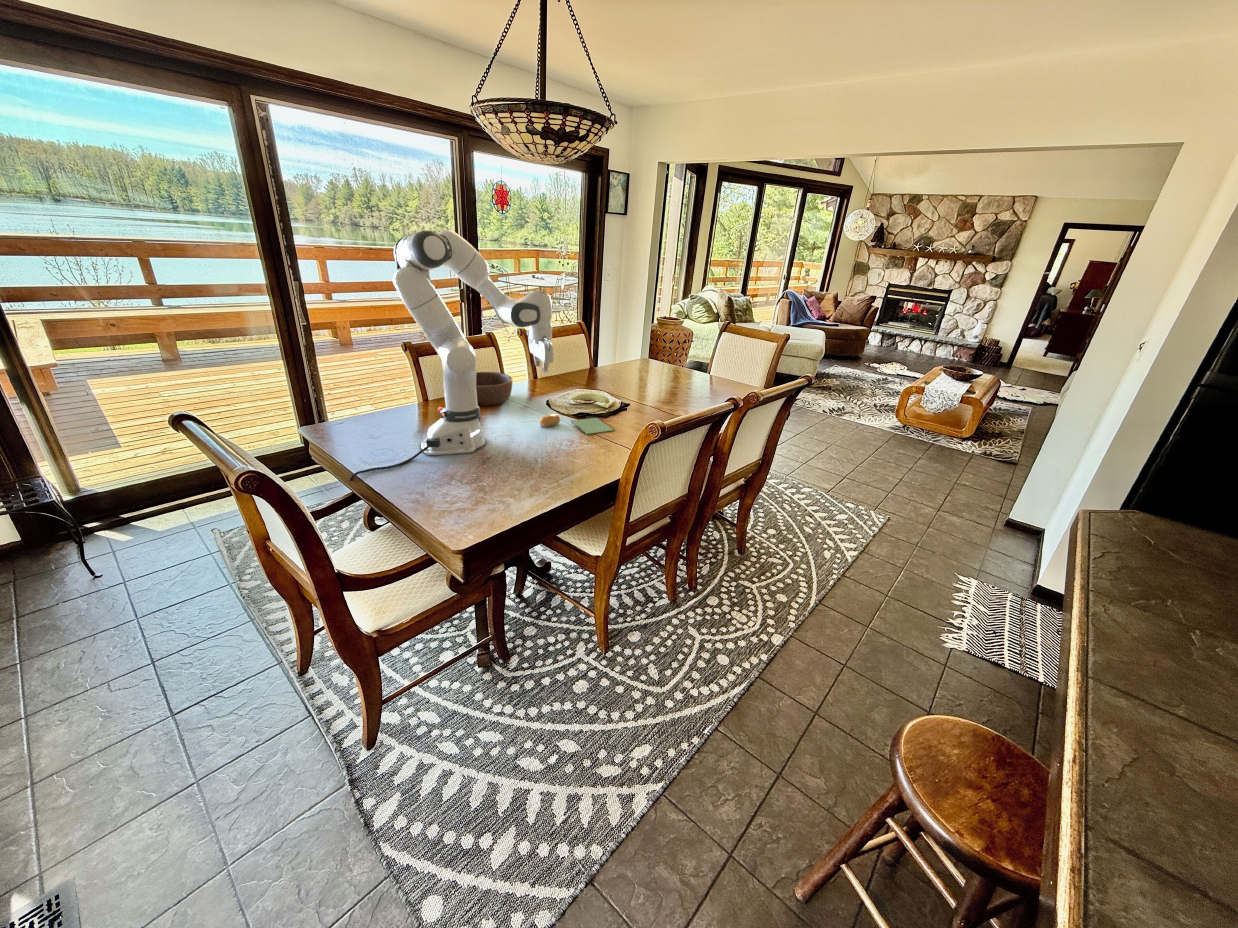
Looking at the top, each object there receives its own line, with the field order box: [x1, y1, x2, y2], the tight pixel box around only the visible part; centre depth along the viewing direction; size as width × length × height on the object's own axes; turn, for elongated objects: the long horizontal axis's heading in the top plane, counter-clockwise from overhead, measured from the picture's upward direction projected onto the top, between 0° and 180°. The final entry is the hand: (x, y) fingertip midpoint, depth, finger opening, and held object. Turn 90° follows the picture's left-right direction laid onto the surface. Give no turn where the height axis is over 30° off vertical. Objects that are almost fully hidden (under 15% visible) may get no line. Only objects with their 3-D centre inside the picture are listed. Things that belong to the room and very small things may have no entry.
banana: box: [569, 392, 610, 413], centre depth 223 cm, size 14×6×20 cm
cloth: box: [571, 417, 614, 435], centre depth 202 cm, size 12×16×1 cm
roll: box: [538, 413, 561, 428], centre depth 199 cm, size 9×4×4 cm
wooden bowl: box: [476, 371, 513, 407], centre depth 223 cm, size 25×25×10 cm
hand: (541, 369), depth 193 cm, fingers open, 8 cm apart
